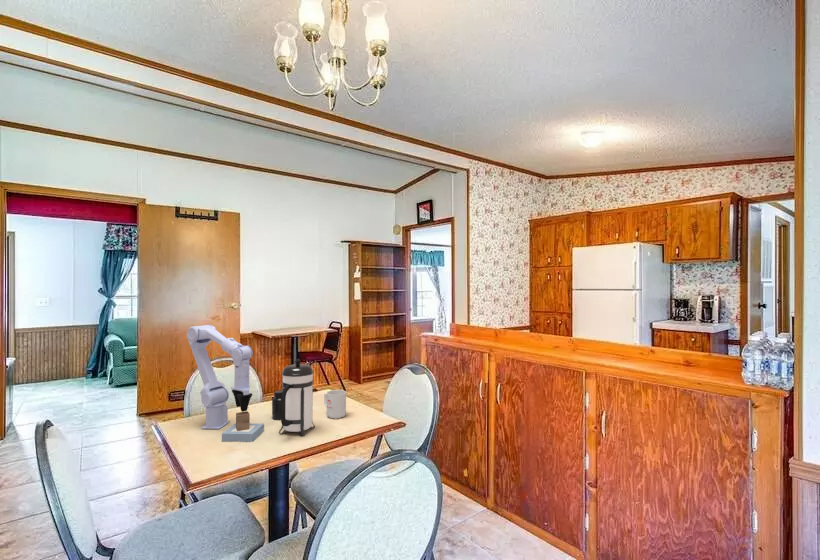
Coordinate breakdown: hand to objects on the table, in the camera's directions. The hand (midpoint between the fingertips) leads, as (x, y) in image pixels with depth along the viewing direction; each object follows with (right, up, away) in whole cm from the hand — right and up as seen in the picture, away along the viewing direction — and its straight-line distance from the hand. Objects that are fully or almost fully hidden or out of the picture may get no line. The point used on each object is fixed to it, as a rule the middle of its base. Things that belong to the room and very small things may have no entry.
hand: (241, 408), depth 172 cm
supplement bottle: (+10, -10, +18) cm, 23 cm away
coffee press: (+23, -10, 0) cm, 25 cm away
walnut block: (+3, -6, -5) cm, 9 cm away
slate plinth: (+3, -9, -5) cm, 11 cm away
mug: (+34, -10, +21) cm, 42 cm away
